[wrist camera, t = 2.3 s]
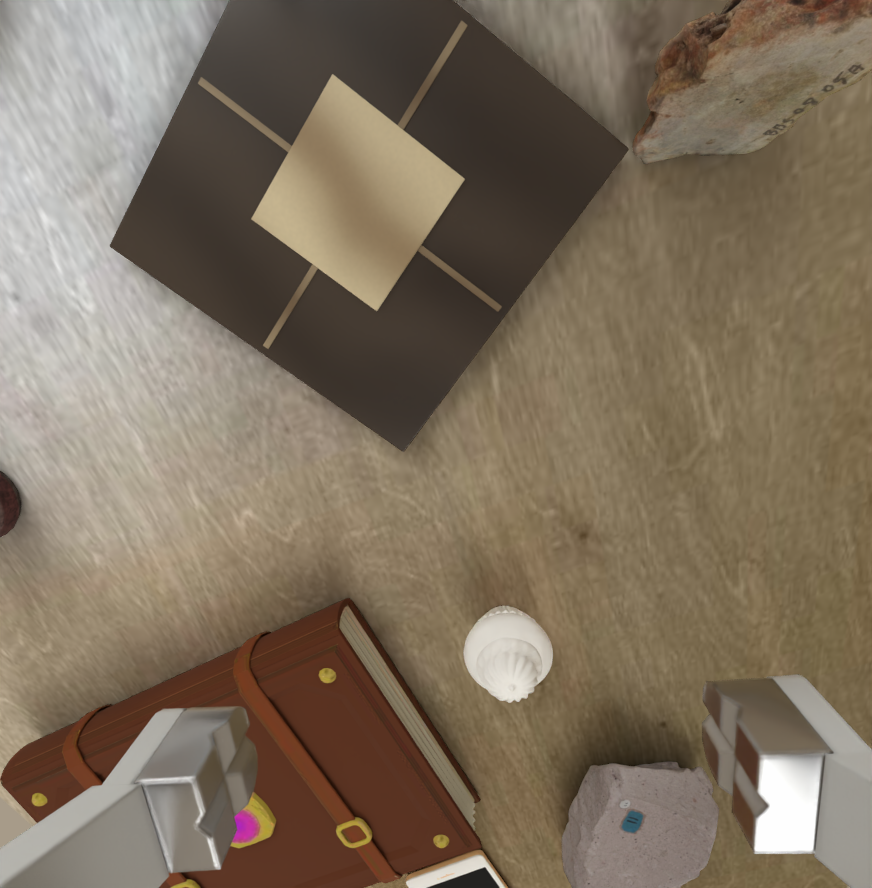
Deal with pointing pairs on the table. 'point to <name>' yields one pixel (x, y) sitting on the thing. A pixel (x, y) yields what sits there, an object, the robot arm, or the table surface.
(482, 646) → the muffin
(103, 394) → the table surface
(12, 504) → the can
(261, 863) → the book
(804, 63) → the rock
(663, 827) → the decorative stone
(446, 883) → the cell phone
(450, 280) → the board
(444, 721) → the table surface
